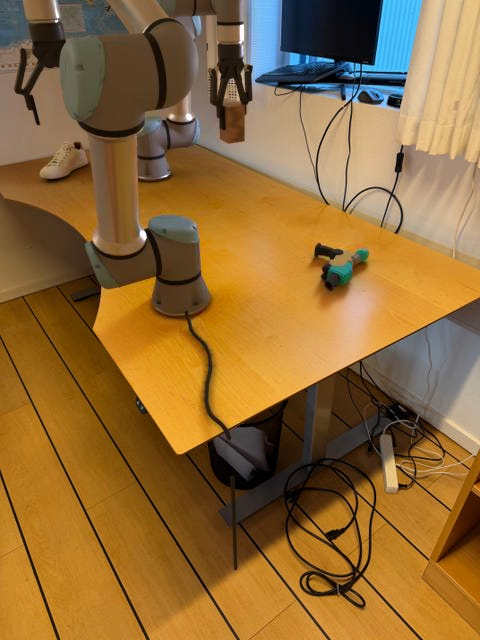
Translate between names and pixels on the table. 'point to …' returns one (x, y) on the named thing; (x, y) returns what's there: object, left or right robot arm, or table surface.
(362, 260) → the toy gun
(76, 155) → the sneaker
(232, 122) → the brick
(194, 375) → the table surface
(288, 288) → the table surface
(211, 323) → the table surface
